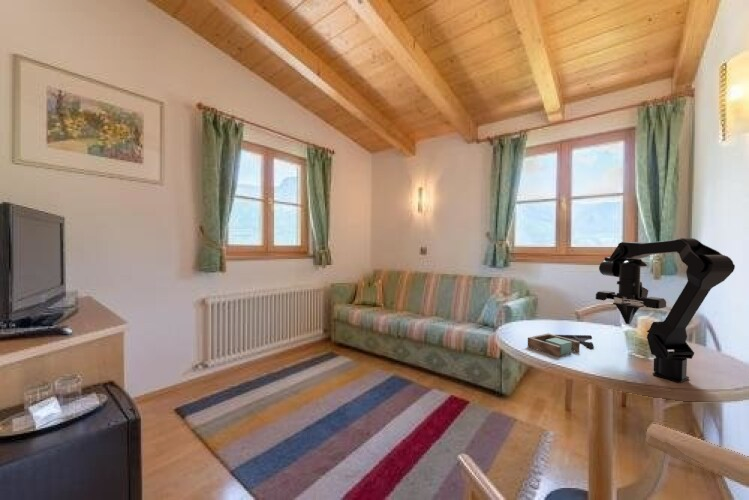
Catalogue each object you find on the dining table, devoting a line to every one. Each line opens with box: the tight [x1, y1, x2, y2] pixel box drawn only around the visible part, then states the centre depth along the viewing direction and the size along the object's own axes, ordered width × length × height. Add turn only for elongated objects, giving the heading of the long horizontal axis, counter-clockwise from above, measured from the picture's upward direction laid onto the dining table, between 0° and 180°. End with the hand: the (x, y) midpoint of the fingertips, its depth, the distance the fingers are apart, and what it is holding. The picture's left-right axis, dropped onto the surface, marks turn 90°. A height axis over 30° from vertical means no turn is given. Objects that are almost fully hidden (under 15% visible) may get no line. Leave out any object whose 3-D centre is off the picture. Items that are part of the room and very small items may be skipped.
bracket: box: [555, 334, 595, 350], centre depth 131 cm, size 14×15×3 cm
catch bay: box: [527, 332, 581, 358], centre depth 123 cm, size 12×12×4 cm
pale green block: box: [546, 338, 572, 356], centre depth 121 cm, size 6×6×4 cm
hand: (627, 324), depth 113 cm, fingers closed
